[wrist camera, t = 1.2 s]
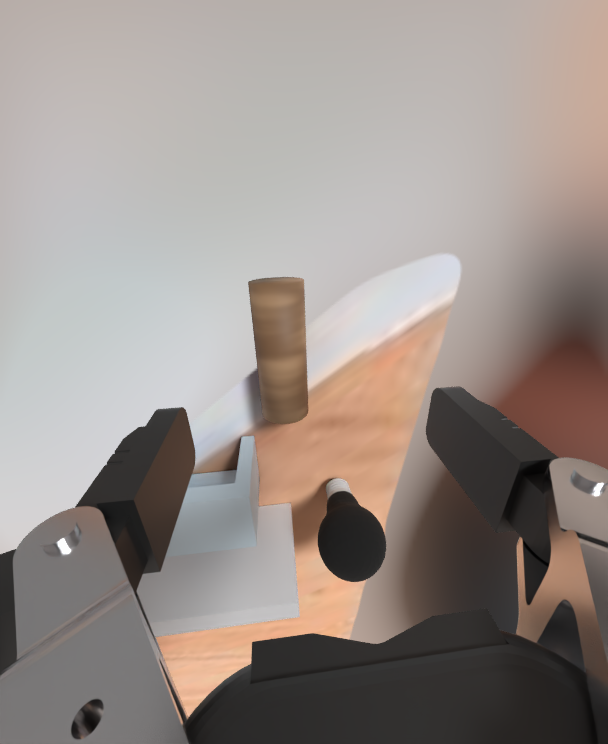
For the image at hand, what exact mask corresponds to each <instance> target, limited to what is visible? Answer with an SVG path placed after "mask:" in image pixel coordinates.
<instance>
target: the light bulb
mask: <svg viewBox="0 0 608 744" xmlns="http://www.w3.org/2000/svg"><path fill="white" fill-rule="evenodd" d="M326 493H327V498H328V501H327V514H326V516H325V518H324V519H323V521H322V523H321V525H320V528H319V532H318V547H319V552H320V555H321V558H322V560H323V562H324V564H325V565H326V566H327V568H328V569H329V570H330V571H331V572H332V573H333V574H334V575H336V576H337V577H339V578H341V579H343V580H346V581H350V582H359V581H364V580H366V579H368V578H370V577H371V576H373V575H374V574H375V573H376V572H377V570H378V569H379V568H380V567H381V565H382V562H383V560H384V558H385V552H386V540H385V534H384V531H383V528H382V526H381V524H380V522H379V521H378V520H377V518H376V517H375V516H374V515H373V514H372V513H371V512H370V511H368V510H367V509H365V508H363V507H361V506H360V505H359V504H358V502H357V500H356V499H355V497H354V496H353V495H352V493H351V491H350V488H349V485H348V483H347V482H346V481H345V480H344V479H341V478H336V479H333V480H331V481H330V482H328V484H327V485H326Z"/></svg>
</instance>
